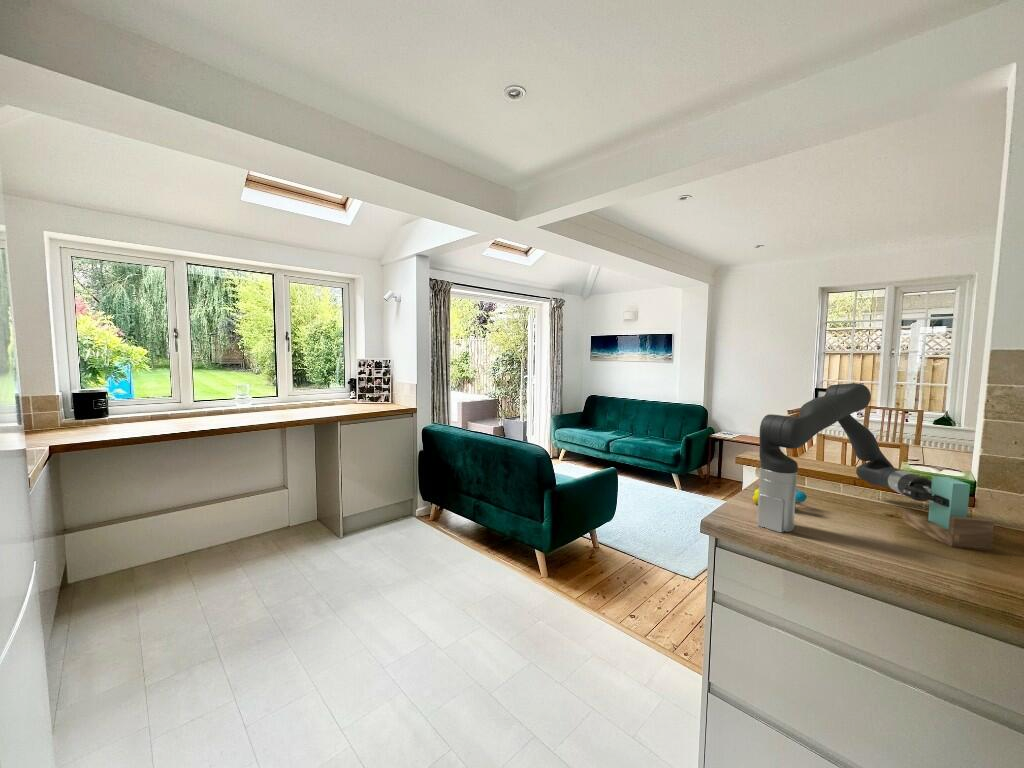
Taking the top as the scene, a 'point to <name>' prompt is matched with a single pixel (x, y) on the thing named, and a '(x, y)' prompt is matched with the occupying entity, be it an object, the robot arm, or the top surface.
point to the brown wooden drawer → (956, 531)
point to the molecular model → (799, 498)
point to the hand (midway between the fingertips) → (957, 503)
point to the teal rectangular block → (957, 500)
